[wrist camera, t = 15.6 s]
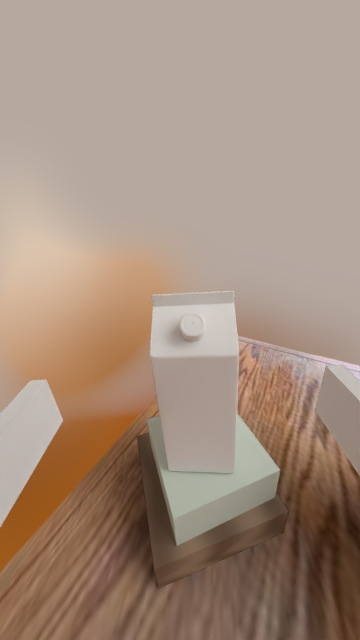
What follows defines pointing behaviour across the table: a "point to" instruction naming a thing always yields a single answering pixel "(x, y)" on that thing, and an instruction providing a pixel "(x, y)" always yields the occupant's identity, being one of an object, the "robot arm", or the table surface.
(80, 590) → the table surface
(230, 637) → the table surface
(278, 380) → the table surface
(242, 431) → the tower top
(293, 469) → the table surface
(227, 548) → the tower base
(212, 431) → the milk carton
